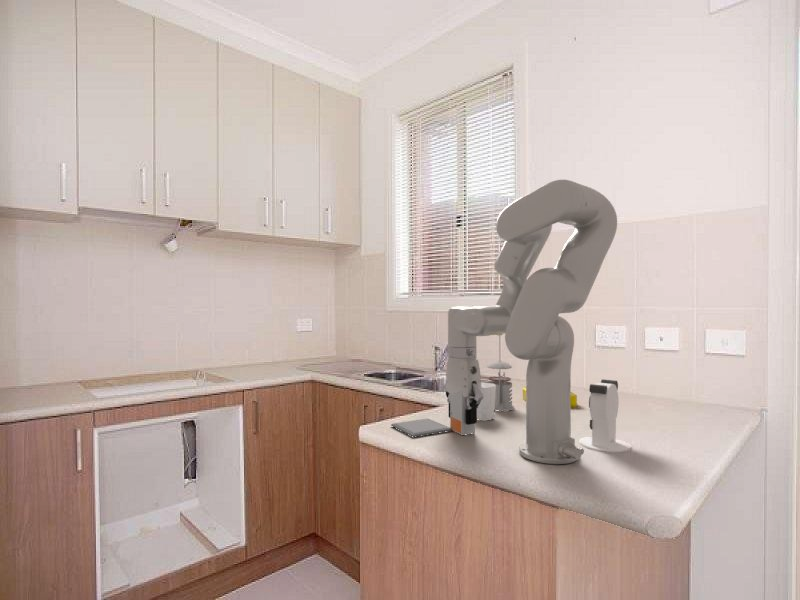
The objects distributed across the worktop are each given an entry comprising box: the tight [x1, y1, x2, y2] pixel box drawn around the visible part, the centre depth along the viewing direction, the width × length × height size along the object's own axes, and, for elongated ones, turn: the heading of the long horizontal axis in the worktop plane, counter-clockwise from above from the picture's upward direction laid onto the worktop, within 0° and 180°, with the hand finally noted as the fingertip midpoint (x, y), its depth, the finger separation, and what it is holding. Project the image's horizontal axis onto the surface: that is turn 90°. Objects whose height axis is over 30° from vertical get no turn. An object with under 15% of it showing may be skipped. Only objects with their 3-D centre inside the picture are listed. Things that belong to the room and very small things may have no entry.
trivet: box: [390, 418, 452, 437], centre depth 123 cm, size 12×12×1 cm
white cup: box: [477, 382, 496, 421], centre depth 134 cm, size 8×8×10 cm
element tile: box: [522, 386, 578, 409], centre depth 155 cm, size 15×15×5 cm
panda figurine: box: [578, 378, 632, 454], centre depth 109 cm, size 12×11×15 cm
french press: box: [486, 334, 516, 412], centre depth 146 cm, size 10×12×25 cm
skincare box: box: [449, 390, 476, 436], centre depth 119 cm, size 6×4×12 cm
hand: (462, 419), depth 119 cm, fingers open, 6 cm apart
